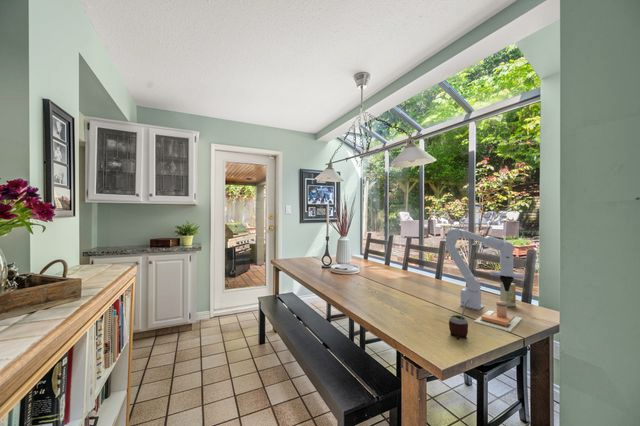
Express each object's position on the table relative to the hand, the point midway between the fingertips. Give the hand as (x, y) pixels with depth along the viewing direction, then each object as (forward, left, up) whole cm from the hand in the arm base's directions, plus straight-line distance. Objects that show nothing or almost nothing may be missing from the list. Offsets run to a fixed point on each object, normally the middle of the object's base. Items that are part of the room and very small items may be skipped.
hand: (507, 290), depth 138 cm
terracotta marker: (+1, -13, -10) cm, 16 cm away
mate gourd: (-5, -48, -11) cm, 50 cm away
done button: (+1, -23, -9) cm, 25 cm away
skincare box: (-2, +10, -11) cm, 15 cm away
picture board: (+1, -18, -10) cm, 21 cm away
